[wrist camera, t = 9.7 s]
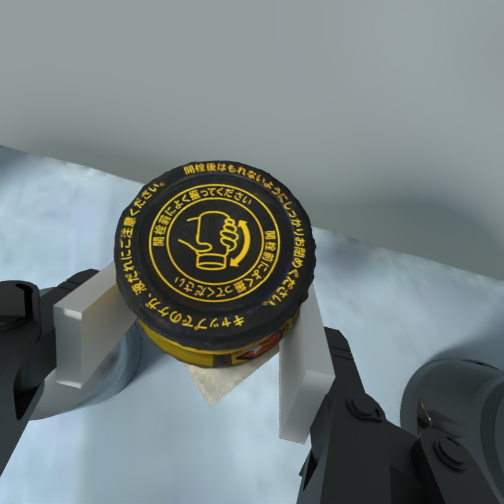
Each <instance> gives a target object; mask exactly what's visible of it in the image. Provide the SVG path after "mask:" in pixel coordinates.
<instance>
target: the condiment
mask: <svg viewBox="0 0 504 504" xmlns="http://www.w3.org/2000/svg"><path fill="white" fill-rule="evenodd" d="M315 249H316V244H315V239H314V238H313V235H312V228H311V223H310V219H309V217H308V215H307V213H306V212H305V210H304V209H303V207H302V206H301V204H300V202H299V201H298V200H297V199H296V198H295V197H294V196H293V194H292V193H291V192H290V190H289V189H288V188H287V187H286V186H284V185H283V184H282V183H281V182H279V181H278V180H277V179H275V178H274V177H272V176H271V175H270V174H269V173H267V172H265V171H263V170H261V169H257V168H254V167H251V166H249V165H246V164H242V163H239V162H232V161H204V162H191V163H188V164H186V165H183V166H179V167H177V168H174V169H172V170H170V171H168V172H165V173H164V174H163V175H161V176H159V177H158V178H155V179H153V180H152V181H151V182H150V183H148V184H146V185H144V186H143V188H142V189H141V190H140V192H139V193H138V195H137V196H136V197H135V199H134V200H133V201H132V202H131V204H130V205H129V206H128V207H127V208H126V209H125V210H124V211H123V212H122V215H121V217H120V219H119V222H118V225H117V229H116V233H115V245H114V262H115V269H116V282H117V285H118V289H119V291H120V292H121V294H122V295H123V297H124V298H125V300H126V302H127V306H128V308H129V309H130V310H132V311H133V312H134V313H135V315H136V316H137V318H138V321H139V324H140V325H141V327H142V329H143V330H144V331H145V333H146V334H147V336H148V337H150V338H151V340H152V341H153V342H154V343H155V344H156V345H157V346H158V347H159V348H160V349H161V350H162V351H163V352H165V353H167V354H169V355H171V356H173V357H174V358H176V359H177V360H178V361H181V362H183V364H184V365H185V367H186V369H187V370H188V372H189V374H190V375H191V377H192V379H193V380H194V382H195V384H196V385H197V387H198V389H199V390H200V392H201V393H202V395H203V397H204V398H205V400H206V402H207V403H208V405H209V406H210V407H211V406H212V405H214V404H215V403H216V402H217V401H219V400H220V399H221V398H222V397H223V396H225V395H226V394H227V393H228V392H230V391H231V390H232V389H233V388H234V387H236V386H237V385H238V384H239V383H241V382H242V381H243V380H244V379H246V378H247V377H248V376H249V375H250V374H252V373H253V372H254V371H255V370H257V369H258V368H259V367H260V366H262V365H263V364H264V363H265V362H267V361H268V360H269V359H271V358H272V357H273V356H274V355H275V354H277V353H278V352H279V342H280V341H281V339H282V338H284V337H285V335H286V334H287V332H288V331H289V330H290V329H291V328H292V326H293V324H294V322H295V320H296V318H297V316H298V313H299V310H300V308H301V305H302V303H303V302H305V301H306V300H307V298H308V296H309V293H308V290H309V287H310V285H311V284H312V281H313V279H314V274H313V273H314V268H315V266H316V257H315Z"/></svg>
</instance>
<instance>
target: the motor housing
mask: <svg viewBox="0 0 504 504" xmlns="http://www.w3.org/2000/svg"><path fill="white" fill-rule="evenodd" d="M53 288H55V287H51V288H46V289H42V290H40V297H41V296H43V295H44V294H46V293H47V292H49V291H50V290H52V289H53ZM56 288H57V287H56ZM141 353H142V341H141V336H140V333H139V330H138V328H137V326H136V324H135V323H133V324H132V325H131V326H130V328H129V329H128V330H127V331H126V333H125V334H124V335H123V336H122V338H121V339H120V340H119V341H118V343H117V344H116V345H115V346H114V348H113V349H112V350H111V351H110V353H109V354H108V355H107V356H106V358H105V359H104V360H103V361H102V363H101V364H100V365H99V366H98V368H97V369H96V370H95V371H94V373H93V374H92V375H91V376H90V378H89V379H88V380H87V381H86V383H85V384H84V385H83V386H82V388H77V387H73V386H69V385H65V384H61V383H57V382H56V372H55V369H54V370H53V371H52V372H51V373H50V374H49V375H48V376H47V377H46V378H45V387H44V392H43V394H42V396H41V398H40V400H39V402H38V404H37V406H36V408H35V410H34V412H33V414H32V416H31V418H30V420H38V419H43V418H47V417H51V416H55V415H58V414H62V413H65V412H69V411H73V410H76V409H80V408H83V407H87V406H90V405H94V404H98V403H101V402H103V401H106V400H108V399H109V398H111V397H113V396H114V395H116V394H117V393H119V392H120V391H121V390H122V389H123V388H124V387H125V386H126V385H127V384H128V383H129V381H130V380H131V379H132V377H133V376H134V374H135V372H136V370H137V368H138V365H139V362H140V359H141Z"/></svg>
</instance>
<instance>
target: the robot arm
mask: <svg viewBox="0 0 504 504" xmlns="http://www.w3.org/2000/svg"><path fill="white" fill-rule="evenodd" d="M308 293H309V296H308V298H307V300H306V301H305V302H303V303H302V305H301V308H300V310H299V313H298V316H297V318H296V320H295V322H294V324H293V326H292V328H291V329H290V330H289V331H288V332H287V334H286V335H285V337H284V338H282V339H281V341H280V342H279V438H281V439H285V440H289V441H293V442H297V443H301V444H305V441H306V439H307V437H308V435H309V433H310V436H311V445H312V448H311V450H310V452H309V454H308V456H307V458H306V460H305V463H304V465H303V467H302V469H301V471H300V473H299V475H300V476H302V481H301V485H300V490H299V494H298V499H297V503H296V504H504V371H501V370H499V369H497V368H495V367H493V366H490V365H488V364H485V363H482V362H479V361H475V360H470V359H442V360H437V361H433V362H431V363H428V364H426V365H425V366H423V367H422V368H420V369H419V370H418V371H417V372H416V373H415V374H414V375H413V377H412V378H411V379H410V381H409V383H408V385H407V387H406V389H405V391H404V395H403V398H402V403H401V411H400V423H401V428H400V427H398V426H396V425H394V424H392V423H391V422H389V421H388V420H386V417H385V413H384V411H383V410H382V408H381V407H380V405H379V404H378V403H377V402H376V401H375V400H374V399H373V398H372V397H371V396H369V395H368V394H366V393H365V390H364V388H363V385H362V382H361V379H360V376H359V373H358V370H357V367H356V364H355V362H354V359H353V356H352V353H351V350H350V347H349V344H348V341H347V340H346V338H345V337H344V336H343V335H342V333H341V332H340V331H339V330H335V329H332V328H328V327H324V326H323V323H322V319H321V315H320V310H319V306H318V302H317V298H316V294H315V290H314V286H313V281H312V284H311V285H310V287H309V290H308ZM136 319H137V316H136V315H135V313H134V312H133V311H132V310H130V309H129V308H128V306H127V302H126V300H125V298H124V297H123V295H122V294H121V292H120V291H119V289H118V285H117V282H116V269H115V262H112V263H111V264H109V265H108V266H107V267H105V268H104V269H103V270H101V271H98V270H94V269H88V270H85V271H82V272H79V273H76V274H75V275H73V276H72V277H70V278H68V279H67V280H66V282H62V283H61V284H59V285H58V286H57V288H56V287H55V288H53V289H52V290H50V291H49V292H47V293H46V294H44V295H43V296H41V297H40V290H39V289H38V287H37V286H36V285H34V284H32V283H31V282H26V281H20V280H8V281H1V282H0V476H1V475H2V473H3V471H4V469H5V467H6V465H7V463H8V461H9V459H10V457H11V455H12V453H13V451H14V449H15V447H16V445H17V443H18V441H19V439H20V437H21V435H22V433H23V431H24V429H25V427H26V425H27V424H28V422H29V420H30V418H31V416H32V414H33V412H34V410H35V408H36V406H37V404H38V402H39V400H40V398H41V396H42V394H43V392H44V387H45V378H46V377H47V376H48V375H49V374H50V373H51V372H52V371H53V370H54V369H55V372H56V382H57V383H61V384H65V385H69V386H73V387H77V388H82V386H83V385H84V384H85V383H86V381H87V380H88V379H89V378H90V376H91V375H92V374H93V373H94V371H95V370H96V369H97V368H98V366H99V365H100V364H101V363H102V361H103V360H104V359H105V358H106V356H107V355H108V354H109V353H110V351H111V350H112V349H113V348H114V346H115V345H116V344H117V343H118V341H119V340H120V339H121V338H122V336H123V335H124V334H125V333H126V331H127V330H128V329H129V328H130V326H131V325H132V324H133V323H134V321H135V320H136Z"/></svg>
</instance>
